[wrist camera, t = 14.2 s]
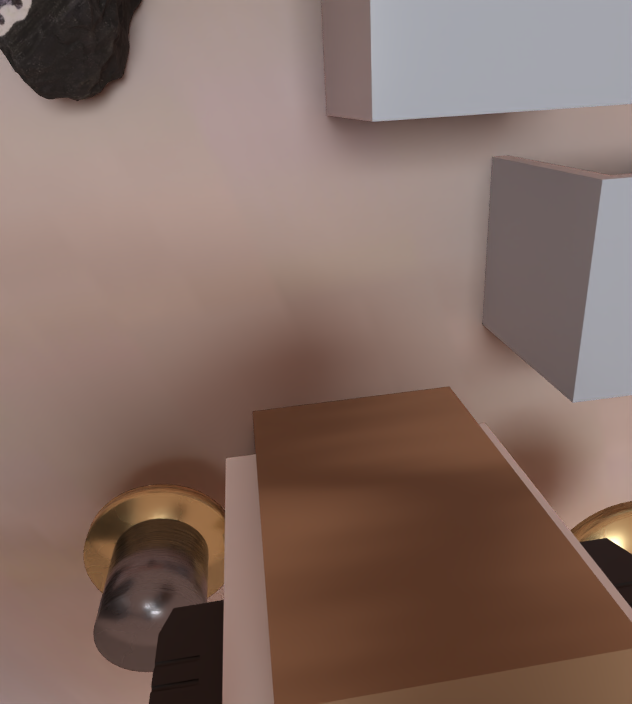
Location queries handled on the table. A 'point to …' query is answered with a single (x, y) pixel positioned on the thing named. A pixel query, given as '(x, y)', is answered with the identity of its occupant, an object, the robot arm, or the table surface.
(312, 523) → the block
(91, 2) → the rock
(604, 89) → the cover
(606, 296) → the cover
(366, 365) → the table surface
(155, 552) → the balance
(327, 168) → the table surface
